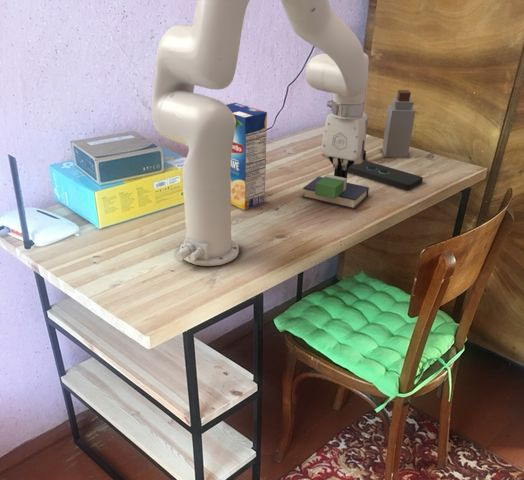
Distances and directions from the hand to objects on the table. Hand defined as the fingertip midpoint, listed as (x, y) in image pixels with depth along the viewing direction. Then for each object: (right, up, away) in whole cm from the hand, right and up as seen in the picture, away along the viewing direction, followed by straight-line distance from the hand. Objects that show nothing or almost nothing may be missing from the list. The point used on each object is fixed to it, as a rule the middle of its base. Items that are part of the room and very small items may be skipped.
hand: (339, 182), depth 152 cm
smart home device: (+14, +5, +12) cm, 19 cm away
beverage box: (-26, -5, -2) cm, 26 cm away
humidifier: (+6, +13, +23) cm, 27 cm away
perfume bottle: (+21, +17, +29) cm, 39 cm away
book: (-1, -4, 0) cm, 4 cm away
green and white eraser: (-3, -2, -5) cm, 6 cm away
